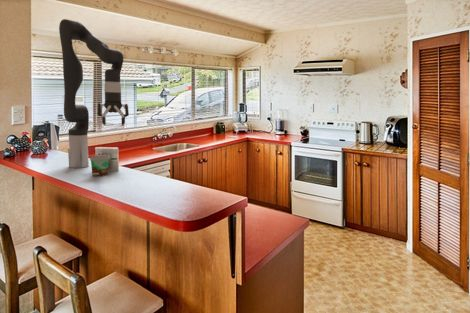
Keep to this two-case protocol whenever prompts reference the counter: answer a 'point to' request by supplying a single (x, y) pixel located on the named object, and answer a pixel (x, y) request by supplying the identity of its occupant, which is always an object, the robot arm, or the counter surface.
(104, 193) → the counter surface
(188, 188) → the counter surface
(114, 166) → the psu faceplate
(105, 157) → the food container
